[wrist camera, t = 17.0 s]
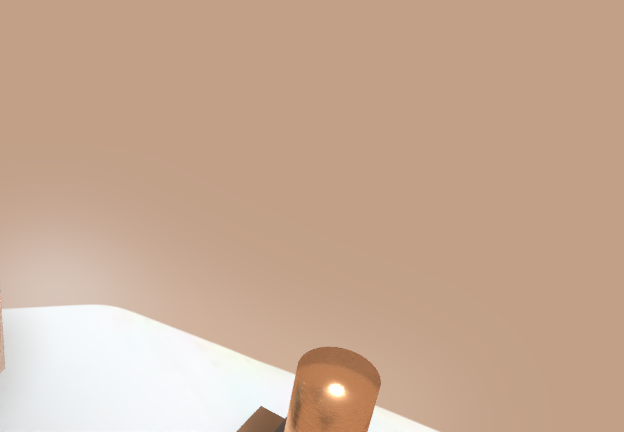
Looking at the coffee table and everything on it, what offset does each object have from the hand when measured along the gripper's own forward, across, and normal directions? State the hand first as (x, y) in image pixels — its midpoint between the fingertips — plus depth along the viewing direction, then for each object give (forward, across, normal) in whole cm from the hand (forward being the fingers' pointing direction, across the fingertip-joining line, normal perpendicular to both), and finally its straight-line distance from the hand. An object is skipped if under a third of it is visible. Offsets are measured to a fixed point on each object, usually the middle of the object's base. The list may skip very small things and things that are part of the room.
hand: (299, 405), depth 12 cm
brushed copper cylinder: (+23, 0, -29) cm, 37 cm away
